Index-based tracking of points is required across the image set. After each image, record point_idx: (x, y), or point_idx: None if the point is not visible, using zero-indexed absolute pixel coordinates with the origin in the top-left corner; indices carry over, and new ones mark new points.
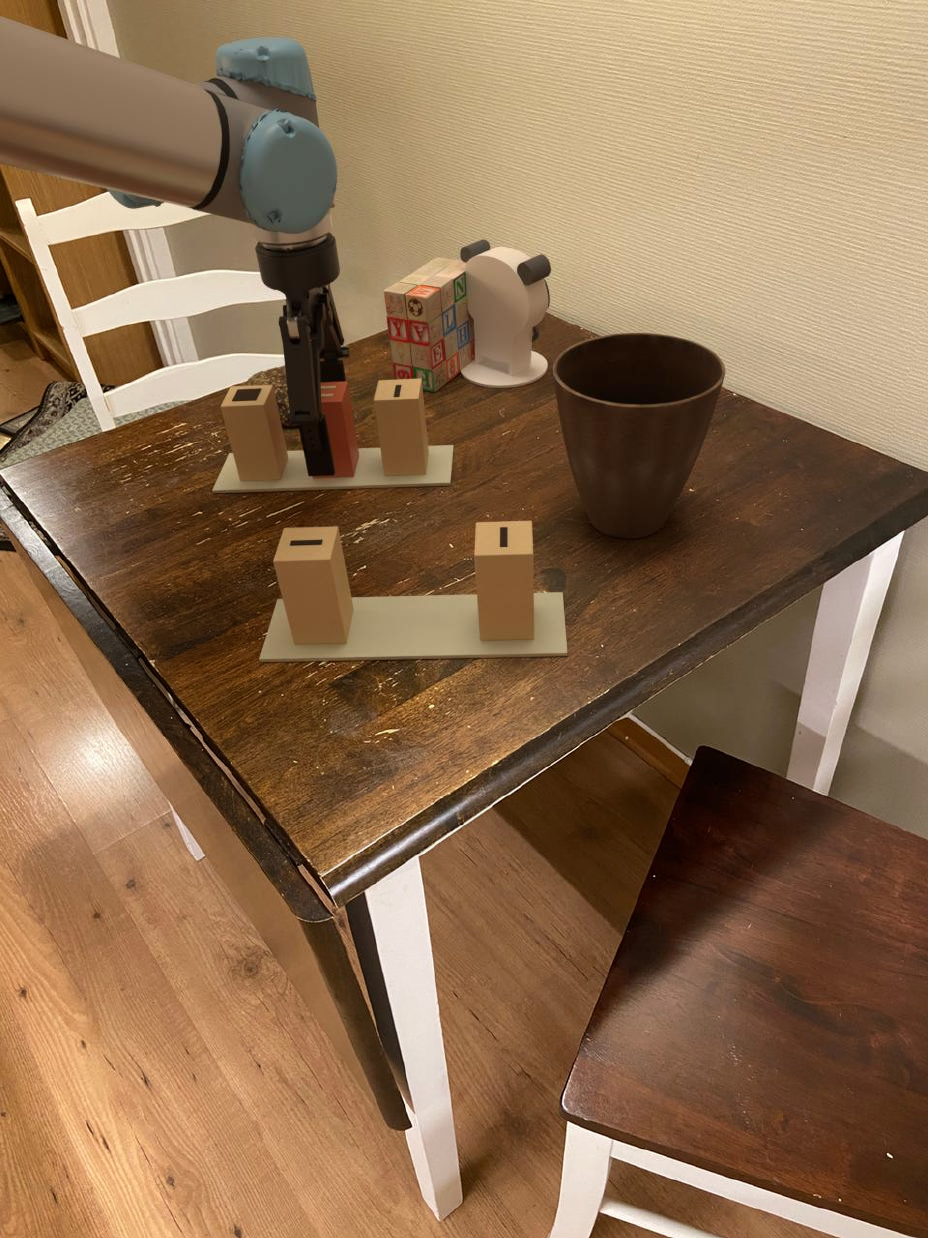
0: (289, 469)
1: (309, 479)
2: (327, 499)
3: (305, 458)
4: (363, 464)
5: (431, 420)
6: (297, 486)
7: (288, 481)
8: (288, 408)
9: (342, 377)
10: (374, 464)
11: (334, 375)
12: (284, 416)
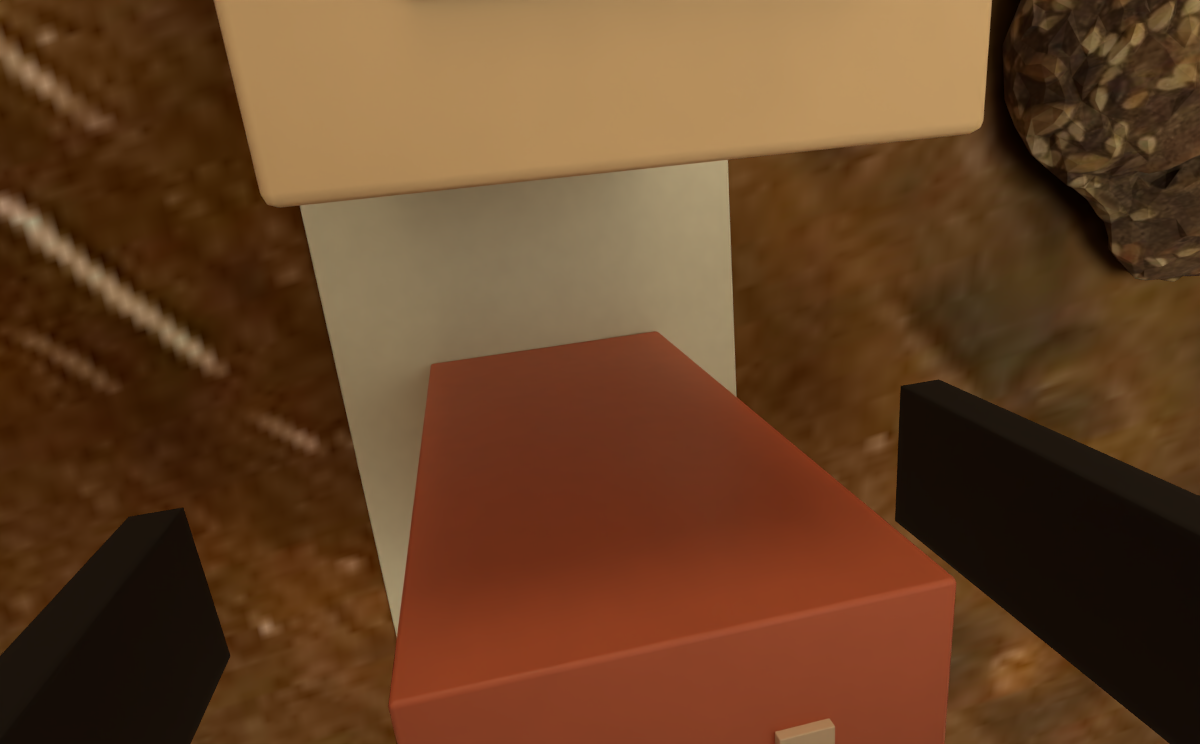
0: (517, 195)
1: (418, 349)
2: (267, 484)
3: (51, 606)
4: None
5: (968, 698)
6: (331, 305)
7: (379, 232)
8: (1117, 32)
9: (1132, 698)
10: None
11: (1165, 655)
12: (1063, 8)
